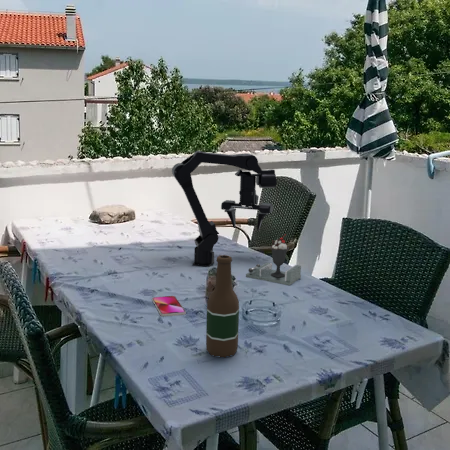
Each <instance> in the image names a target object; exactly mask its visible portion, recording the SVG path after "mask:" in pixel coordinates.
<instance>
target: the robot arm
mask: <svg viewBox="0 0 450 450" xmlns="http://www.w3.org/2000/svg"><path fill="white" fill-rule="evenodd" d="M202 163H204V164H213V165H222V166H233V167H236V168H239V169H238V170H237V171H236V172H235V173H234V175H235V176H237V177H239V179H240V180H239V181H240V182H239V191H238V192H239V193H238V194H239V201H238V202H236V201H235V200H231V199H230V200H229V199H226V200H224V201H222V202H221V205H220V209H221V210H224V213H227V216H228V218H229V219H230V223H231V225H232V227H233V229H235V228H236V224H237V222H236V212H237V211H236V210H237V209H241V210H242V209H243V210H253V211H254V210H255V211H259V213H258V214H257V224H256V225H257V227H256V228H257V229H256V230H257V231H259V230H260V228H261V225H262V223H263V221H264V218H265V217H266V216H267V215H269V214H271V213H272V212H274V205H273V204H272V203H268V202H262V203H260V204H259V198H260V197H259V195H258V194H257V190H256V186H258V187H259V189H274V188H275V189H276V186H277V183H278V182H277V175H276V170H275V169H262V168H261V166H260V165H259V159H258V158H257V157H256V156H255V155H254V154H251V153H246V152H245V153H235V154H228V153H227V154H226V153H215V152H206V151H200V150H195V152H193V153H192V154H191V155H190V156H188V157H187V158H185V159H184V160H183V161H182V162H178V163H175V164H174V165H173V166H172V168H171V174H172V176H173V177H174V179H175V181H176V182H177V183H178V185H179V186H180V188H181V189H182V191H183V193H184V195H185V198H186V200H187V202H188V203H189V207H190V209H191V211H192V213H193V215H194V217H195V220H196V222H197V226H198V227H197V228H198V231H199V235H198V236H197V237H195V239H194V244H195V247H194V252H193V253H194V260H193V261H194V262H192V266H199V267H200V266H201V267H211V265H213V264H214V263H215V252H214V246H215V245H216V244H217V243H218V241H219V239H220V238H219V235H220V233H219V231H218V230H217V226H216V223H214V221H213V220H210V221H209V220H208V217H207V215H206V213H205V211H204V209H203V207H202V204H201V202H200V199H199V196H198V195H197V192H196V190H195V189H194V185H193V178H192V175H191V173H193V172H194V171H195V170H196V169H197V167H199V166H200V165H201V164H202ZM243 170H244V171H243ZM245 170H246V171H245ZM251 171H252V172H253V173H252V172H251Z"/></svg>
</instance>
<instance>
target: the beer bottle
mask: <svg viewBox="0 0 450 450" xmlns="http://www.w3.org/2000/svg"><path fill="white" fill-rule="evenodd" d="M215 261H216V262H217V264H216V265H217V266H216V276H215V284H214V289H213V291H212V292H211V293H210V294H209V297H208V299H207V301H206V303H207V304H206V327H205V328H206V331H205V332H206V333H205V334H206V336H205V340H206V341H205V346H206V352H207V351H208V352H209V354H210V355H211V356H212V355H214V356H213V357H215V356H220V357H219V358H221V357H224V358H227V357H226V356H229V357H231V356H230V355H233V356H235V353H236V352H237V351H238V346H239V325H240V323H239V321H240V302H239V301H240V300H239V298H238V295H237V294H236V292H235V290H234V289H233V283H232V262H233V258H232V256H230V255H226V254H223V255H222V254H221V255H218V256H217V257H216V260H215ZM208 352H207V353H208Z"/></svg>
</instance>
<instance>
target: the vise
mask: <svg viewBox="0 0 450 450" xmlns="http://www.w3.org/2000/svg"><path fill="white" fill-rule="evenodd" d="M276 270H277V269H273V263H271V262H265V263H263V264H262V265H261V264H259V263H257V264H256V265H255V266H254V267H250V268H248V272H247V273H246V274H245V277H246V278H250V279H255V280H260V281H265V282H270V283H277V284H281V285H285V286H291V285H292V284H295V282H297V281H298V280H300V279H301V278H302V274H301V272H302V265H299V264H295V265H293V266H291V267H290V268H288V269H287V270H285V271H281V270H280V272H281V273H283V274H285V276H284V277H273V276H271V274H272V273H275V272H276Z"/></svg>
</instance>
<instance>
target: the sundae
mask: <svg viewBox="0 0 450 450" xmlns="http://www.w3.org/2000/svg"><path fill="white" fill-rule="evenodd" d="M285 236H287V234H286V233H284V234H283V236H282V237H280V238H278V239H277V238H276V240H274V239H272V240H271V245H270V246H269V247H270V249H271V254H272V255H271V257H272V262H273V264H274V265H275V266H276V269H275V270H276V272H275V273H272V274H271V276H273V277H284V276H285V274H283V273H281V272H280V271H281V266H282V265H284V263H285V261H286V256H287V251H289V249H290V247H289V246H288V245H287V244H286V240H285V239H284V237H285Z"/></svg>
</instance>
